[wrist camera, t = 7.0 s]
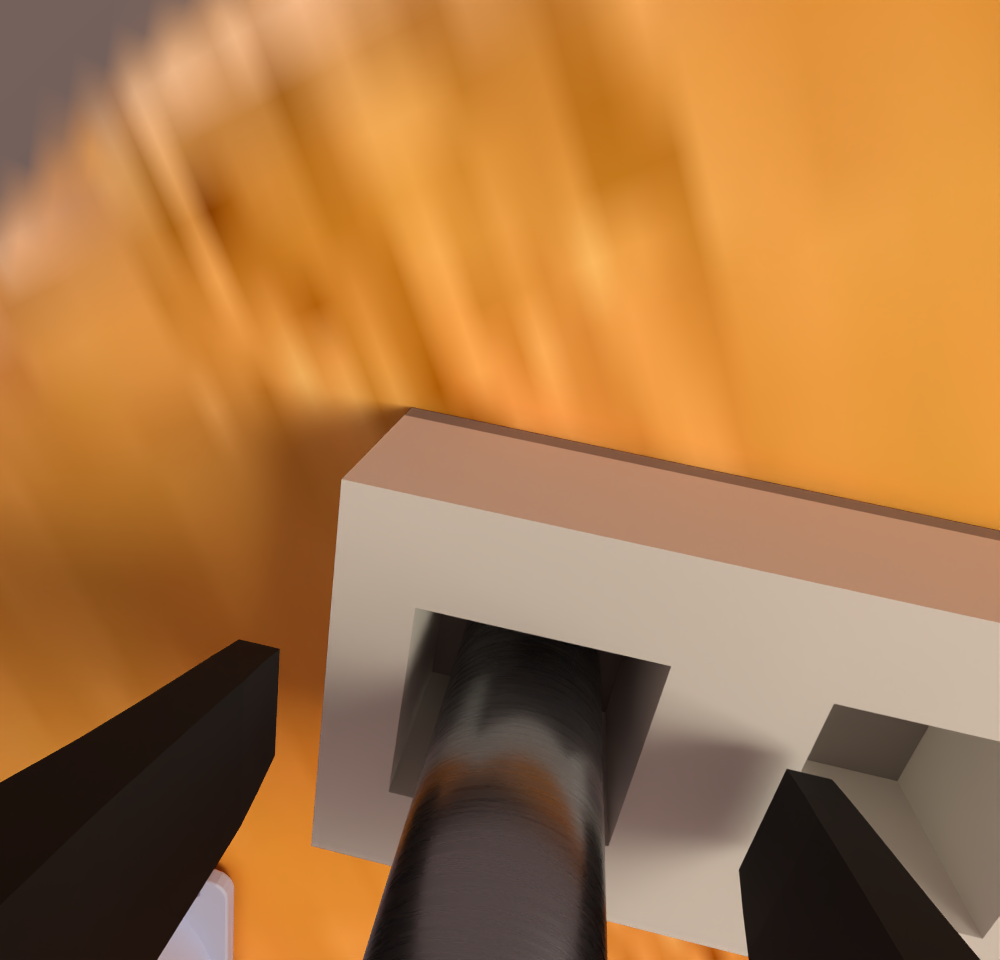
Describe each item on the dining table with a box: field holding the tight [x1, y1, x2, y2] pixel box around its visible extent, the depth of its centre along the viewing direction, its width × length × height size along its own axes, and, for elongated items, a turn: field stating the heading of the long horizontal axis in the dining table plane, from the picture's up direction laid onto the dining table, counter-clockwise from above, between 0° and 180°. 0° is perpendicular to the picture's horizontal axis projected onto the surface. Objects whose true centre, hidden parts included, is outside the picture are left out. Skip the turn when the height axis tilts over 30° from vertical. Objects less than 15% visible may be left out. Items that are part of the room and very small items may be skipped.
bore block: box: [311, 407, 1000, 960], centre depth 11 cm, size 7×12×4 cm, turn 80°
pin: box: [363, 620, 607, 960], centre depth 9 cm, size 2×2×8 cm
